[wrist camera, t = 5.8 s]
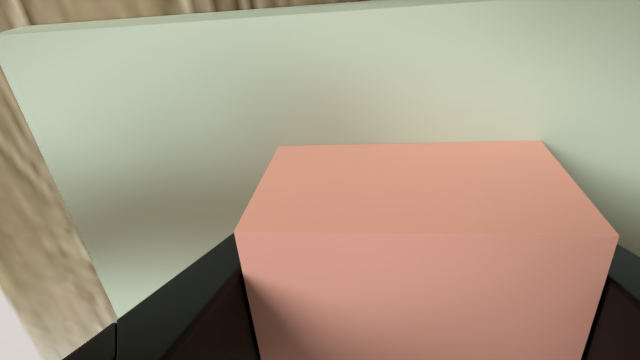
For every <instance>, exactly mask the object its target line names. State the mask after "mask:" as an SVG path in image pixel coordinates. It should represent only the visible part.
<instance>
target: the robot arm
mask: <svg viewBox="0 0 640 360" xmlns="http://www.w3.org/2000/svg"><path fill="white" fill-rule="evenodd" d="M62 360H261V357H260V352H259V348H258V343H257V338H256V334H255V329H254V324H253V320H252V315H251V310H250V306H249V301H248V296H247V291H246V287H245V282H244V277H243V273H242V268H241V263H240V259H239V254H238V249H237V244H236V240H235V235H234V233H232V234H231V235H230V236H228V237H227V238H226V239H224V240H223V241H222V242H220V243H219V244H218V245H216V246H215V247H214V248H212V249H211V250H210V251H208V252H207V253H206V254H204V255H203V256H202V257H200V258H199V259H198V260H196V261H195V262H194V263H192V264H191V265H190V266H188V267H187V268H186V269H184V270H183V271H182V272H180V273H179V274H178V275H176V276H175V277H173V278H172V279H171V280H169V281H168V282H167V283H165V284H164V285H163V286H161V287H160V288H159V289H157V290H156V291H155V292H153V293H152V294H151V295H149V296H148V297H147V298H145V299H144V300H143V301H141V302H140V303H139V304H137V305H136V306H135V307H133V308H132V309H131V310H129V311H128V312H127V313H125V314H124V315H123V316H121V317H120V318H119V319H118V320H117V324H116V323H112V324H110V325H109V326H108V327H106V328H105V329H104V330H102V331H101V332H100V333H98V334H97V335H96V336H94V337H93V338H92V339H90V340H89V341H87V342H86V343H85V344H83V345H82V346H80V347H79V348H78V349H76V350H75V351H73V352H72V353H71V354H69V355H68V356H67V357H65V358H64V359H62ZM581 360H640V256H638V255H636V254H635V253H633V252H631V251H629V250H628V249H626V248H624V247H623V246H621V245H619V244H617V245H616V249H615V252H614V255H613V258H612V261H611V265H610V268H609V271H608V274H607V277H606V281H605V284H604V287H603V290H602V293H601V297H600V300H599V303H598V306H597V310H596V313H595V316H594V319H593V322H592V326H591V329H590V332H589V335H588V338H587V342H586V345H585V348H584V351H583V354H582V358H581Z"/></svg>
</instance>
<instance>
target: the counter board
mask: <svg viewBox="0 0 640 360" xmlns="http://www.w3.org/2000/svg"><path fill="white" fill-rule="evenodd" d="M0 65H1V67H2V70H3V72H4V74H5V76H6V78H7V80H8V82H9V85H10V87H11V89H12V91H13V93H14V95H15V97H16V100H17V102H18V104H19V106H20V108H21V110H22V113H23V115H24V117H25V119H26V121H27V123H28V125H29V128H30V130H31V132H32V134H33V136H34V138H35V141H36V143H37V145H38V147H39V149H40V151H41V153H42V156H43V158H44V160H45V162H46V164H47V166H48V168H49V171H50V173H51V175H52V177H53V179H54V181H55V184H56V186H57V188H58V190H59V192H60V194H61V196H62V199H63V201H64V203H65V205H66V207H67V209H68V212H69V214H70V216H71V218H72V220H73V222H74V224H75V227H76V229H77V231H78V233H79V235H80V237H81V240H82V242H83V244H84V246H85V248H86V250H87V252H88V255H89V257H90V259H91V261H92V263H93V265H94V267H95V270H96V272H97V274H98V276H99V278H100V280H101V283H102V285H103V287H104V289H105V291H106V293H107V295H108V298H109V300H110V302H111V304H112V306H113V308H114V311H115V313H116V315H117V317H118V319H119V318H120V317H121V316H123V315H124V314H125V313H127V312H128V311H129V310H131V309H132V308H133V307H135V306H136V305H137V304H139V303H140V302H141V301H143V300H144V299H145V298H147V297H148V296H149V295H151V294H152V293H153V292H155V291H156V290H157V289H159V288H160V287H161V286H163V285H164V284H165V283H167V282H168V281H169V280H171V279H172V278H173V277H175V276H176V275H178V274H179V273H180V272H182V271H183V270H184V269H186V268H187V267H188V266H190V265H191V264H192V263H194V262H195V261H196V260H198V259H199V258H200V257H202V256H203V255H204V254H206V253H207V252H208V251H210V250H211V249H212V248H214V247H215V246H216V245H218V244H219V243H220V242H222V241H223V240H224V239H226V238H227V237H228V236H230V235H231V234H232V233H234V230H235V228H236V226H237V224H238V223H239V221H240V219H241V217H242V215H243V213H244V211H245V209H246V207H247V205H248V204H249V202H250V200H251V198H252V196H253V194H254V192H255V190H256V188H257V187H258V185H259V183H260V181H261V179H262V177H263V175H264V173H265V171H266V169H267V168H268V166H269V164H270V162H271V160H272V158H273V156H274V154H275V152H276V151H277V149H278V147H279V146H297V145H345V144H393V143H442V142H490V141H538V140H541V142H542V143H543V144H544V145H545V146H546V148H547V149H548V150H549V151H550V152H551V154H552V155H553V156H554V157H555V158H556V160H557V161H558V162H559V163H560V164H561V166H562V167H563V168H564V169H565V171H566V172H567V173H568V174H569V175H570V177H571V178H572V179H573V180H574V181H575V183H576V184H577V185H578V186H579V187H580V189H581V190H582V191H583V192H584V193H585V195H586V196H587V197H588V198H589V200H590V201H591V202H592V203H593V204H594V206H595V207H596V208H597V209H598V210H599V212H600V213H601V214H602V215H603V216H604V218H605V219H606V220H607V221H608V222H609V224H610V225H611V226H612V227H613V229H614V230H615V231H616V232H617V233H618V235H619V239H618V242H617V244H619V245H621V246H623V247H624V248H626V249H628V250H629V251H631V252H633V253H635V254H636V255H638V256H640V0H375V1H361V2H347V3H333V4H320V5H306V6H292V7H279V8H265V9H251V10H238V11H224V12H210V13H196V14H183V15H169V16H155V17H142V18H128V19H114V20H101V21H87V22H73V23H59V24H46V25H32V26H23V27H19V28H15V29H12V30H8V31H4V32H0Z"/></svg>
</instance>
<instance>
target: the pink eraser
mask: <svg viewBox="0 0 640 360" xmlns="http://www.w3.org/2000/svg"><path fill="white" fill-rule="evenodd" d="M234 235H235V240H236V244H237V249H238V254H239V259H240V263H241V268H242V273H243V277H244V282H245V287H246V291H247V296H248V301H249V306H250V310H251V315H252V320H253V324H254V329H255V334H256V338H257V343H258V348H259V352H260V357H261V360H581V358H582V354H583V351H584V348H585V345H586V342H587V338H588V335H589V332H590V329H591V326H592V322H593V319H594V316H595V313H596V310H597V306H598V303H599V300H600V297H601V293H602V290H603V287H604V284H605V281H606V277H607V274H608V271H609V268H610V265H611V261H612V258H613V255H614V252H615V249H616V245H617V242H618V239H619V235H618V233H617V232H616V231H615V230H614V229H613V227H612V226H611V225H610V224H609V222H608V221H607V220H606V219H605V218H604V216H603V215H602V214H601V213H600V212H599V210H598V209H597V208H596V207H595V206H594V204H593V203H592V202H591V201H590V200H589V198H588V197H587V196H586V195H585V193H584V192H583V191H582V190H581V189H580V187H579V186H578V185H577V184H576V183H575V181H574V180H573V179H572V178H571V177H570V175H569V174H568V173H567V172H566V171H565V169H564V168H563V167H562V166H561V164H560V163H559V162H558V161H557V160H556V158H555V157H554V156H553V155H552V154H551V152H550V151H549V150H548V149H547V148H546V146H545V145H544V144H543V143H542V142H541V140H538V141H490V142H442V143H393V144H345V145H297V146H279V147H278V149H277V151H276V152H275V154H274V156H273V158H272V160H271V162H270V164H269V166H268V168H267V169H266V171H265V173H264V175H263V177H262V179H261V181H260V183H259V185H258V187H257V188H256V190H255V192H254V194H253V196H252V198H251V200H250V202H249V204H248V205H247V207H246V209H245V211H244V213H243V215H242V217H241V219H240V221H239V223H238V224H237V226H236V228H235V230H234Z"/></svg>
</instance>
